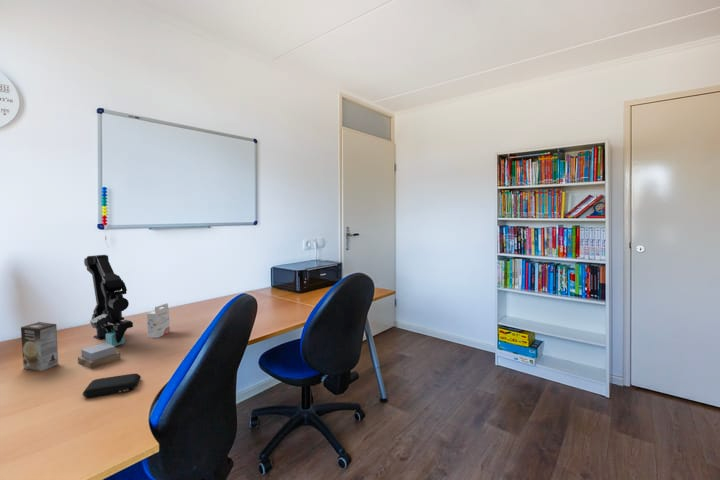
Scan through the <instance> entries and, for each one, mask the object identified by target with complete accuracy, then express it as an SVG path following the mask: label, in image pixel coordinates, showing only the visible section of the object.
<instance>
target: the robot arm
mask: <svg viewBox="0 0 720 480" xmlns="http://www.w3.org/2000/svg"><path fill="white" fill-rule="evenodd" d="M83 259H84V260H83V263H84V267H86V270H87V272H89V273H90V274H91V275H92V277H91V278H92V281H93V289H94V295H95V301H96V305H95V307H94V308H93V313H92V315H91V319H90V320H89V323H90V325H91V326H92V328H93V329H96V335H93V338H94V339H98V340H103V339H106V333H110V332H115V336H116V341H117V343H120V342H121V339H122V337H123V335H124V336H125V333H126V332H127V330H128V329H130V328H131V329H132V328H133V327H134V322H133V321H132V320H128V319H125V317H123V311H125V310H127V309H128V308H129V300H128V299H127V298H125V297H124V295H127V291H128V289H127V286H126V284H125V281H124V280H123V279H122V278H121V277H120V275H118V274H116V273H115V272H114V270H113V268H112V266H111V263H110V262H109V255H107V254H98V255H97V254H96V255H88V256H87V257H86V258H83Z"/></svg>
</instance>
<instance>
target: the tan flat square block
mask: <svg viewBox="0 0 720 480" xmlns="http://www.w3.org/2000/svg"><path fill="white" fill-rule="evenodd" d="M119 360H121V353H120V352H118V351H115V354H113V355H110V356H106V357H103V358H100V359H97V360H94V361H90V360H88V359H85V358H83V357H82V355H80V356H77V364H78V365H80V366H82V367H85V368H87V369H90V370H93V369H97V368H98V367H102V366H105V365H107V364H110V363H114V362H116V361H119Z"/></svg>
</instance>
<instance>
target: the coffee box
mask: <svg viewBox="0 0 720 480" xmlns="http://www.w3.org/2000/svg"><path fill="white" fill-rule="evenodd" d="M20 332H21V333H20V335H21V349H22V353H21V354H22V366H23V369H25V370H26V369H27V370H31V371H40V372H42V371H45V370H47V369H48V370H49V369H50V368H52V367H55V366H57V365H59V352H58V351H59V349H58V327H57V324H56V323H49V322H43V321H41V322H40V321H38V322H34V323H31V324H28V325H24V326H20Z"/></svg>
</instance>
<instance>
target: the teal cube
mask: <svg viewBox="0 0 720 480" xmlns="http://www.w3.org/2000/svg"><path fill="white" fill-rule="evenodd" d="M105 343H107V344H110V345H113V346H115V347H117V346H121V345H122V344H125V343H126V341H125V334H124V335H123V337H122V339H121V342H120V343H117V341H116V336H115V332H110V333H106V338H105Z"/></svg>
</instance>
